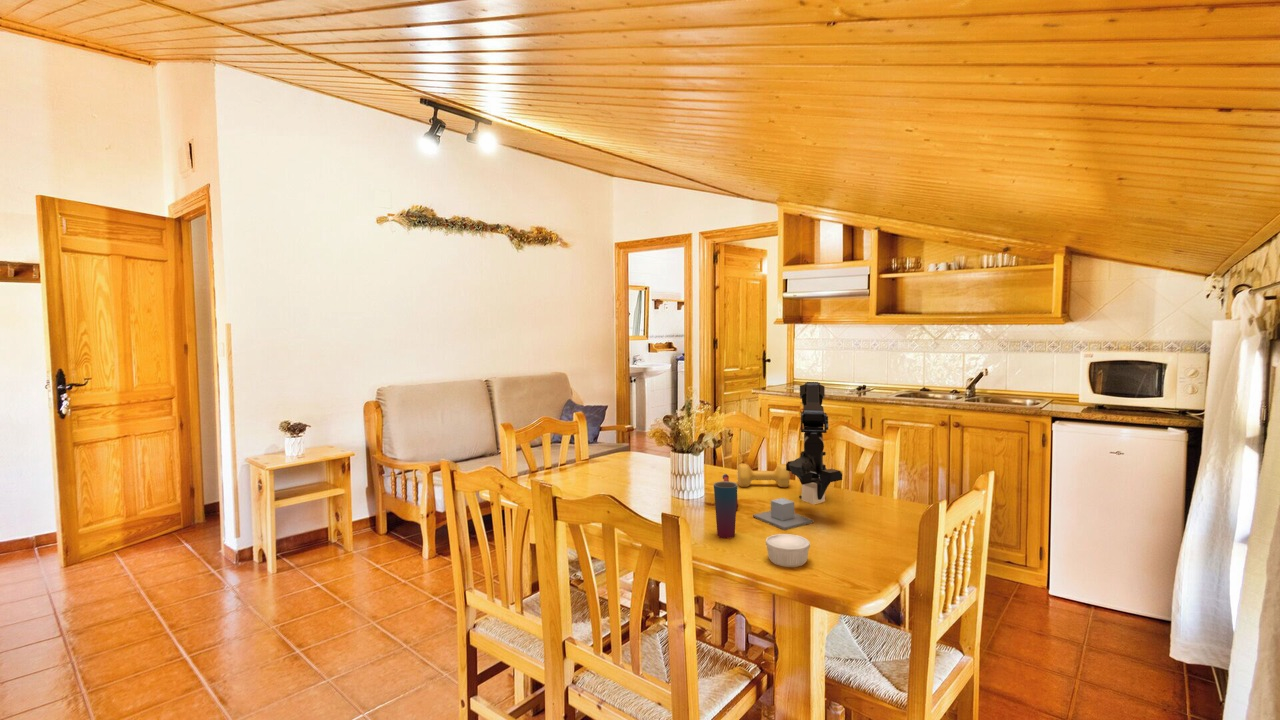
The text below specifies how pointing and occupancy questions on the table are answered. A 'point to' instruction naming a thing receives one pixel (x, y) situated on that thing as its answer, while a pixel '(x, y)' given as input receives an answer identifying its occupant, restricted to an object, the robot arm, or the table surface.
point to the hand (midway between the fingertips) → (813, 497)
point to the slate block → (782, 509)
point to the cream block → (811, 493)
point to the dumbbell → (763, 475)
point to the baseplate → (785, 524)
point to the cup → (725, 508)
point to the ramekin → (787, 550)
